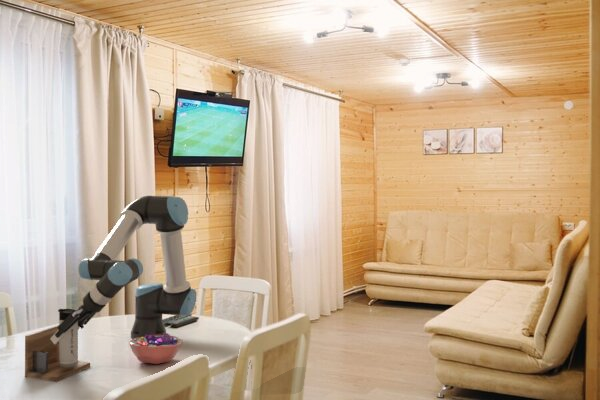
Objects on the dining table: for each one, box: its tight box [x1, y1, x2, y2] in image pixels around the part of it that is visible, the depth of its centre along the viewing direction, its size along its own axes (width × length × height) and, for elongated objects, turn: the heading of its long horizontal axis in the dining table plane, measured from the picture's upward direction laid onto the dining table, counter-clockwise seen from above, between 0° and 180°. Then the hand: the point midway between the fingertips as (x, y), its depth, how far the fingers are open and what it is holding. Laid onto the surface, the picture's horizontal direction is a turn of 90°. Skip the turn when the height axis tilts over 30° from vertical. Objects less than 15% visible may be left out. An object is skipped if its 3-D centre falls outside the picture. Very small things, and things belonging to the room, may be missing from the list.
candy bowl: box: [128, 332, 183, 365], centre depth 236 cm, size 17×20×11 cm
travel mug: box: [57, 308, 79, 367], centre depth 220 cm, size 6×7×20 cm
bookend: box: [28, 350, 48, 375], centre depth 216 cm, size 6×3×7 cm, turn 71°
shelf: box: [24, 324, 91, 383], centre depth 222 cm, size 14×18×14 cm
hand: (59, 338), depth 221 cm, fingers closed on travel mug, 6 cm apart
